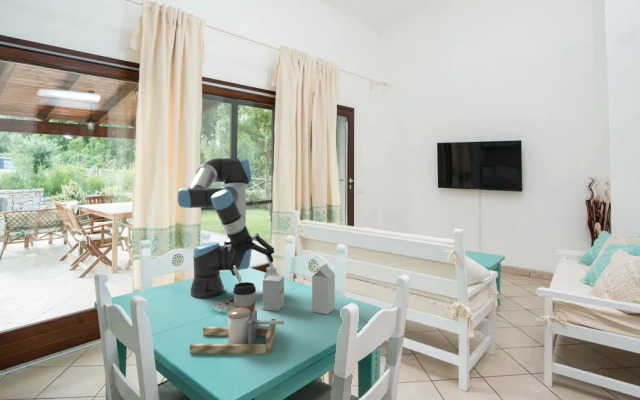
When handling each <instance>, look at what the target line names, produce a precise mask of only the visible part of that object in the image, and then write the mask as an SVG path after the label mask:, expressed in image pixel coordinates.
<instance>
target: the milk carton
mask: <svg viewBox="0 0 640 400" xmlns="http://www.w3.org/2000/svg"><path fill="white" fill-rule="evenodd" d="M315 271H316V273H315V274H313V275H312V276H311V294H312V295H311V299H312V300H311V301H312V302H311V312H313V313H316V314H318V313H319V314H323V315H329V314H331V313H332V312H333V311H334V310H335V303H336V301H335V300H336V297H335V296H336V295H335V294H336V291H335V289H336V283H335V282H336V278H335V277H336V276H335V275H336V273H335V272H334V271H332V269H331V268H330V267H329V266H328V263H325V264H323V265H321V266H319V267H318V268H317V269H316V270H315Z"/></svg>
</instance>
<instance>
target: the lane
mask: <svg viewBox="0 0 640 400" xmlns="http://www.w3.org/2000/svg"><path fill="white" fill-rule="evenodd" d="M271 320H272V321H276V318H271ZM202 336H228V326H203V328H202ZM257 336H258V337H259V336H262V337H264V336H265V343H254V344H229V343H191V344H189V353H190V354H241V355H242V354H248V355H249V354H252V355H253V354H259V355H261V354H271V352H272V351H271V350H272V347H273V344H274V341H275V336H276V324H269V326H267V327H266V326H257Z"/></svg>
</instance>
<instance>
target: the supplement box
mask: <svg viewBox="0 0 640 400" xmlns="http://www.w3.org/2000/svg"><path fill="white" fill-rule="evenodd" d="M284 305H285V276H282V275H279V276H267V277H266V278H265V279H263V280H262V310H264V311H275V312H278V311H280V310H281V309H282V308H283V306H284Z"/></svg>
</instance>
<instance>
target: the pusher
mask: <svg viewBox="0 0 640 400" xmlns="http://www.w3.org/2000/svg"><path fill="white" fill-rule="evenodd" d="M270 324H275V325H285V320H275V321H272V319H271V320H270V319H269V320H258V310H257V309H255V310H254V311H253V313H252V315H251V317H250V319H249V321H248V344H255V341H256V339H257V327H258V325H270Z"/></svg>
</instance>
